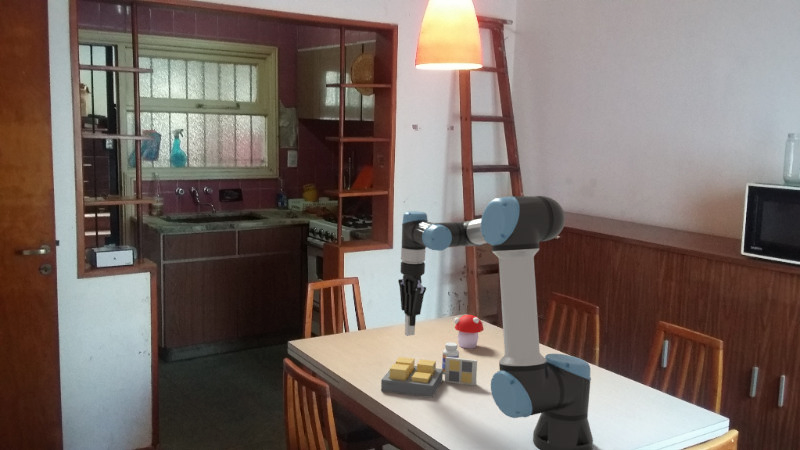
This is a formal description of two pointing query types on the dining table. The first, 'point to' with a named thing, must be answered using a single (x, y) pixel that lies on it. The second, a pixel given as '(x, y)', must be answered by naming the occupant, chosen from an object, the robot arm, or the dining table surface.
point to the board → (412, 384)
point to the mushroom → (468, 330)
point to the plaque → (460, 370)
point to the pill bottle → (449, 353)
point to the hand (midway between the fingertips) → (409, 334)
